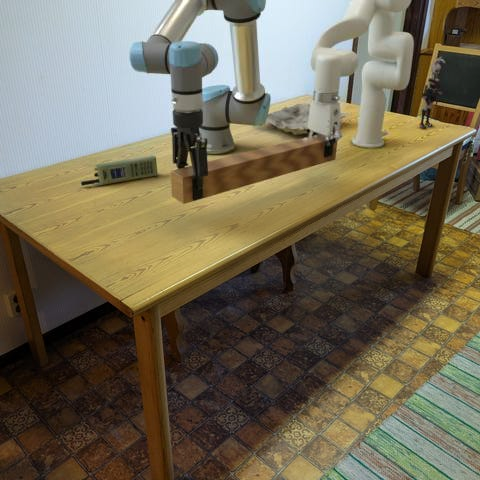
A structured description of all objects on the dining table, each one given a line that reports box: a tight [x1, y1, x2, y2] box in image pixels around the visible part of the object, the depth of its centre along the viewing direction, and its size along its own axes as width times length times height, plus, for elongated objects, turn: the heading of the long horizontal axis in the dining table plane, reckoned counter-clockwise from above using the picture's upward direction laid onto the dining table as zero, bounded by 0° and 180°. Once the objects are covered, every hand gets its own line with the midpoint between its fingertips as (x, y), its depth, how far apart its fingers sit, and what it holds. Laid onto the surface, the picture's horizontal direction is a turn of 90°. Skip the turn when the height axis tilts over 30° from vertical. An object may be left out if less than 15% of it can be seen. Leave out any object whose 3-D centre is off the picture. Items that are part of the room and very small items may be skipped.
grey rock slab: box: [265, 103, 350, 136], centre depth 219 cm, size 38×6×30 cm
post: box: [170, 133, 339, 205], centre depth 148 cm, size 58×6×7 cm, turn 128°
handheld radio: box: [80, 155, 159, 187], centre depth 164 cm, size 7×3×25 cm
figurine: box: [419, 56, 446, 130], centre depth 216 cm, size 15×6×30 cm, turn 132°
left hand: (191, 194), depth 136 cm, fingers closed on post, 6 cm apart
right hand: (320, 152), depth 162 cm, fingers closed on post, 6 cm apart
